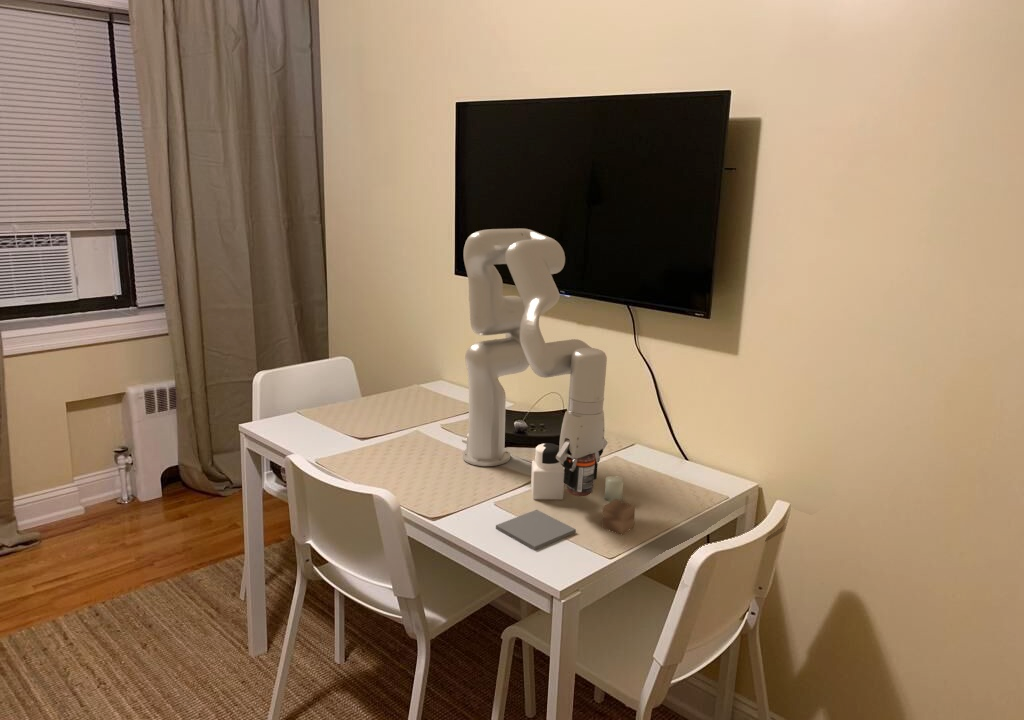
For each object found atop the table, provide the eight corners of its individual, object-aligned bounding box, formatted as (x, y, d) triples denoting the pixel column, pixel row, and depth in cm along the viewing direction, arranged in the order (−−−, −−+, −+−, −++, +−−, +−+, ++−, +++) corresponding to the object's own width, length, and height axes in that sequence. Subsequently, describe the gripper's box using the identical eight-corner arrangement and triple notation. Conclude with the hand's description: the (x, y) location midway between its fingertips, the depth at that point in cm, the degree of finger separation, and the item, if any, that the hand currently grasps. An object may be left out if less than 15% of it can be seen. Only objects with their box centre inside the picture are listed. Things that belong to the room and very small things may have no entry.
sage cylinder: (601, 498, 177) (602, 478, 175) (612, 494, 179) (613, 474, 178) (614, 504, 174) (615, 484, 173) (625, 499, 176) (626, 480, 175)
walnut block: (601, 528, 162) (603, 506, 161) (613, 520, 166) (615, 499, 165) (622, 535, 160) (623, 513, 158) (633, 527, 163) (635, 505, 162)
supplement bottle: (561, 487, 171) (564, 440, 167) (585, 484, 173) (589, 438, 170) (572, 498, 165) (576, 450, 162) (597, 495, 167) (601, 448, 164)
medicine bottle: (560, 487, 182) (562, 440, 179) (563, 500, 175) (565, 451, 172) (530, 487, 182) (532, 440, 179) (532, 499, 175) (534, 451, 172)
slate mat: (495, 528, 161) (495, 525, 161) (536, 512, 169) (536, 509, 168) (534, 550, 152) (534, 546, 152) (575, 532, 160) (575, 529, 160)
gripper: (599, 393, 172) (593, 466, 177) (544, 407, 160) (540, 485, 165) (624, 402, 166) (618, 477, 171) (570, 418, 155) (564, 498, 160)
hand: (580, 480), depth 168 cm, fingers closed on supplement bottle, 6 cm apart
